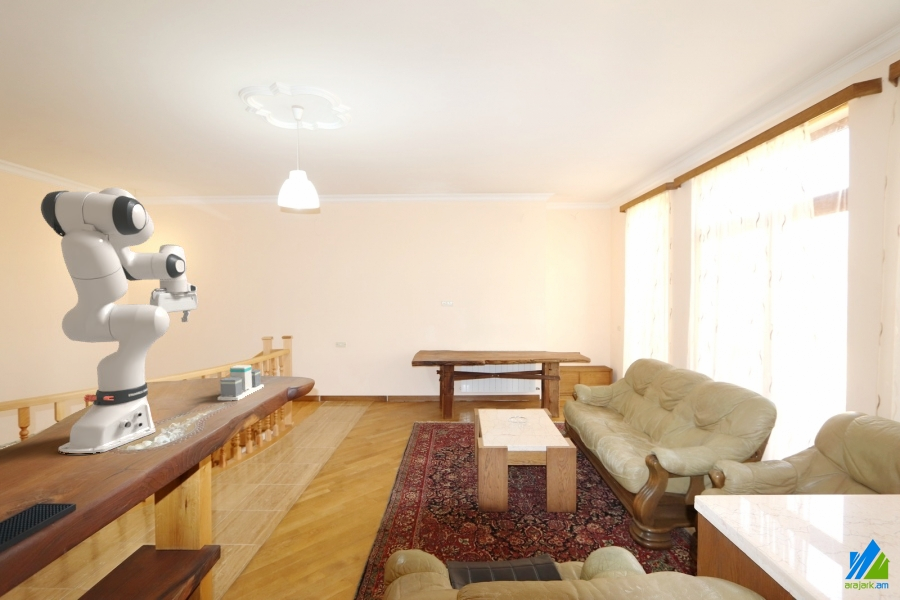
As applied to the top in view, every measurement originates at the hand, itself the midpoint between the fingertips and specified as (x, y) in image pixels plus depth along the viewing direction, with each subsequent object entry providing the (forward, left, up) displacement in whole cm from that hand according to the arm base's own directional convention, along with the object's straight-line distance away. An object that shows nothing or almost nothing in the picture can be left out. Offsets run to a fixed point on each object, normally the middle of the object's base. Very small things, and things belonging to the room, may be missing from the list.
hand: (175, 323), depth 155 cm
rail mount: (+6, -22, -29) cm, 37 cm away
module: (+6, -22, -27) cm, 35 cm away
